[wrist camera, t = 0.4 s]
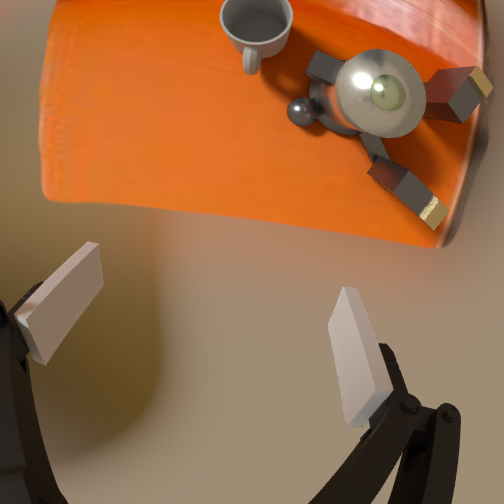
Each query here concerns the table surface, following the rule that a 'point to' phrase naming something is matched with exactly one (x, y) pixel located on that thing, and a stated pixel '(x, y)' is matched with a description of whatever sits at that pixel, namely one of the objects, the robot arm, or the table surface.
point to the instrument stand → (362, 97)
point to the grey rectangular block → (455, 93)
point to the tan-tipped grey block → (409, 191)
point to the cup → (256, 28)
